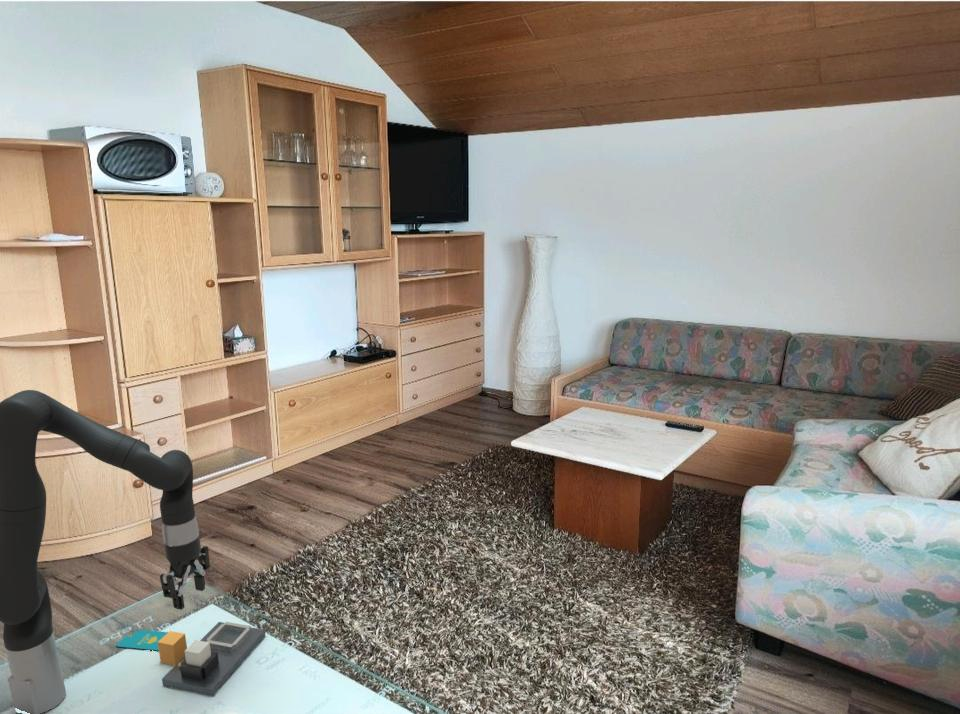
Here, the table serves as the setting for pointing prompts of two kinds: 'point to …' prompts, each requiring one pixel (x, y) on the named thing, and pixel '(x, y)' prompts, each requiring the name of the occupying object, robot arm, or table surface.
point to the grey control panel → (216, 659)
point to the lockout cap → (172, 647)
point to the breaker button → (198, 653)
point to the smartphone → (142, 640)
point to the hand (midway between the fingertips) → (190, 598)
